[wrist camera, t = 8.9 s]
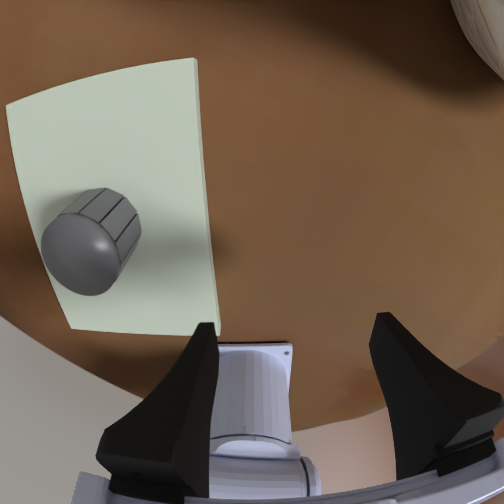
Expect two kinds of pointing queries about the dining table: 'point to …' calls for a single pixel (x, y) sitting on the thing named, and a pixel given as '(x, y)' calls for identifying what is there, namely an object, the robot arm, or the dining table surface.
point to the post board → (126, 189)
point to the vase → (483, 29)
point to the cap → (91, 241)
